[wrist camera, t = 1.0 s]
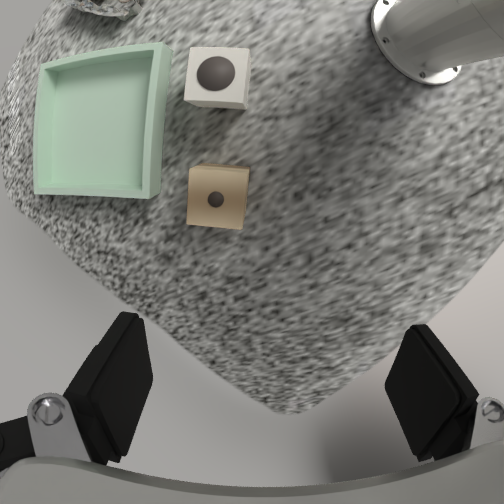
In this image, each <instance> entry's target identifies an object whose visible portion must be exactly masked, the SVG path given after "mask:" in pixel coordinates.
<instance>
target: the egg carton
mask: <svg viewBox="0 0 504 504" xmlns="http://www.w3.org/2000/svg"><path fill="white" fill-rule="evenodd" d="M119 1H120V2H121V3H126V2H129V1H130V0H119ZM134 1H135V2H136V3H135V5H134V6H132V7H130V6H129V7H125V8H123V9H122V10H120V11H119V10H118V9H116V8H115V7H114V6H112V5H109V4H106V3H104V4H103V5H101V6H97V5H96V4H95V3H93V2H92V1H90V0H84V1H83V0H65V1H64V2H63V3H64V4H66V5H67V6H70V7H72V8H75V9H78V10H80V11H82V12H86V13H87V12H91V13H95V14H98V15H101V16H116V17H117V18H119V19H120V20H123V21H126V20H127V19H128V18H129V17H130V16H132V15H136V14H139V13H140V11H141V10H142V9H143V8H142V7H141V6H140V4H139V2H140V0H134Z"/></svg>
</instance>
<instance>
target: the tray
mask: <svg viewBox="0 0 504 504" xmlns="http://www.w3.org/2000/svg"><path fill="white" fill-rule="evenodd" d="M172 55H173V50H171V49H170V48H169V47H168V46H167V45H166V44H165V43H164V42H156V43H145V44H136V45H128V46H121V47H114V48H108V49H102V50H97V51H92V52H87V53H82V54H78V55H73V56H69V57H65V58H61V59H57V60H54V61H50V62H47V63H43V64H41V67H40V73H39V80H38V87H37V95H36V105H35V117H34V134H33V181H34V194H50V195H82V196H105V197H123V198H140V199H150V198H152V197H154V196H155V195H157V194H159V193H160V192H161V167H162V149H163V135H164V123H165V112H166V102H167V93H168V84H169V76H170V69H171V62H172Z"/></svg>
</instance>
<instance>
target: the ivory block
mask: <svg viewBox="0 0 504 504" xmlns="http://www.w3.org/2000/svg"><path fill="white" fill-rule="evenodd" d="M250 74H251V58H250V51H249V49H245V48H225V47H190V54H189V61H188V68H187V76H186V84H185V93H184V101H187V102H189V103H191V104H193V105H195V106H197V107H213V108H230V109H243V110H247V100H248V91H249V83H250Z"/></svg>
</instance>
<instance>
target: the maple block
mask: <svg viewBox="0 0 504 504" xmlns="http://www.w3.org/2000/svg"><path fill="white" fill-rule="evenodd" d="M249 174H250V167H244V166H233V165H222V164H209V163H201V164H199V165H197V166H194V167H192V168H190V169H189V182H188V201H187V224H188V225H198V226H208V227H219V228H228V229H238V230H242V228H243V223H244V218H245V213H246V203H247V193H248V184H249Z"/></svg>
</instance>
